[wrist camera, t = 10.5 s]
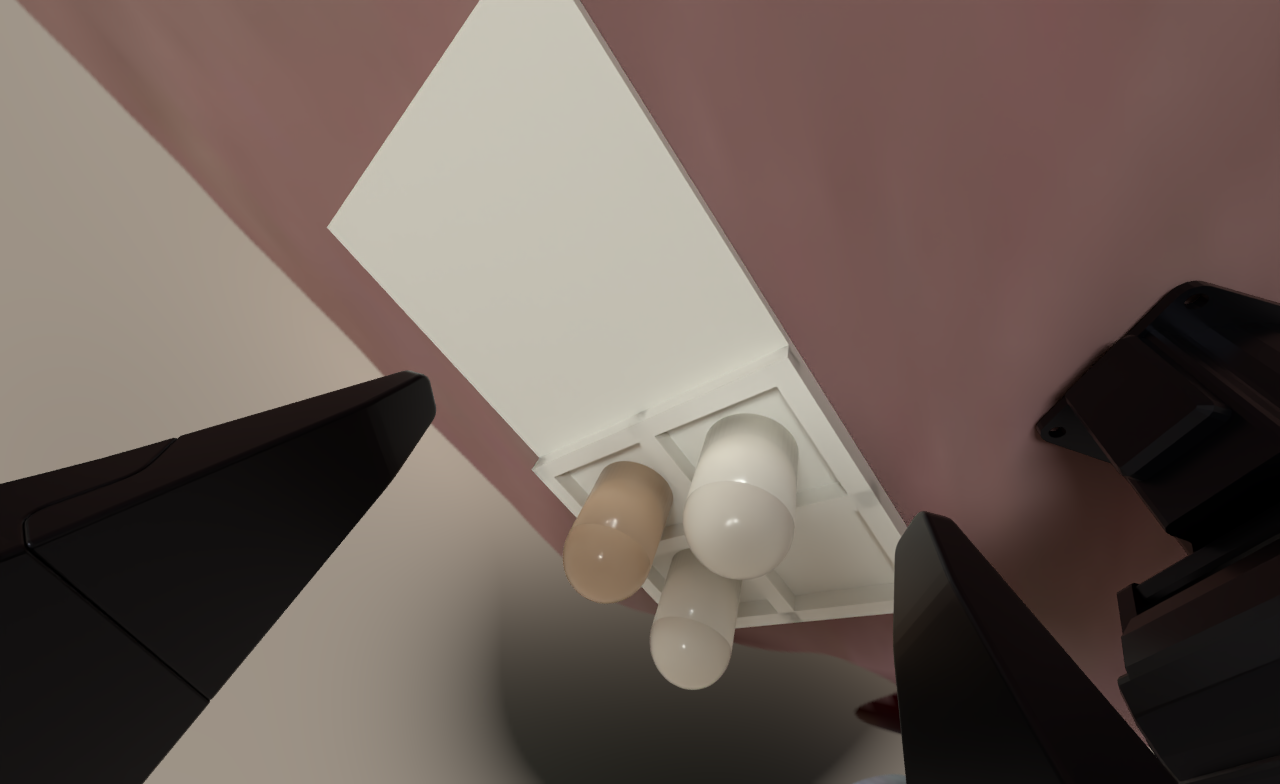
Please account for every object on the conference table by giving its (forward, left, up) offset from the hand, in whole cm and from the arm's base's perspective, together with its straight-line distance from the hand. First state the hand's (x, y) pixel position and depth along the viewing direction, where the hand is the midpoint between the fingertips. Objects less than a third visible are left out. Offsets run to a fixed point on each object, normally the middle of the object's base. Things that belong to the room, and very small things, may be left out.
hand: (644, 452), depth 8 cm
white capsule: (-5, +19, -11) cm, 23 cm away
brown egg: (+1, +15, -11) cm, 18 cm away
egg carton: (+2, +9, -12) cm, 15 cm away
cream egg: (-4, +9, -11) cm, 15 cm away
